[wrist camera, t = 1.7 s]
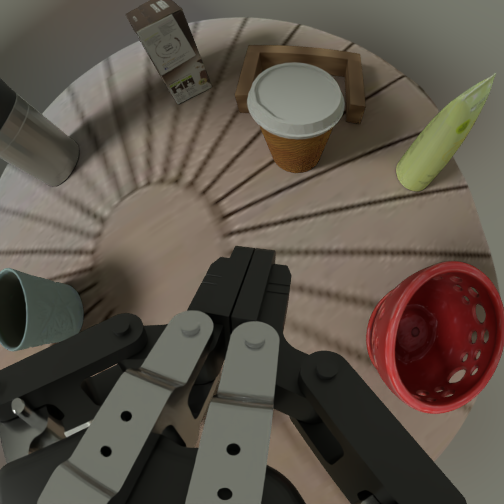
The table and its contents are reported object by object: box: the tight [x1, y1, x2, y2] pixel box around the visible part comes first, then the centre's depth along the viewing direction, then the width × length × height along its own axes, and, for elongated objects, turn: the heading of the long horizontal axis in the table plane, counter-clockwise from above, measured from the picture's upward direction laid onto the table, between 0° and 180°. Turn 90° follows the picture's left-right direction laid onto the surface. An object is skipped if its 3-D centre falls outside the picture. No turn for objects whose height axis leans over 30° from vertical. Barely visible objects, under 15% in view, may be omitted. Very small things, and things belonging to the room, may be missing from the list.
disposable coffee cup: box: [247, 62, 345, 173], centre depth 29 cm, size 10×10×12 cm
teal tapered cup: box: [0, 268, 84, 351], centre depth 30 cm, size 10×10×12 cm
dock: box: [235, 45, 366, 124], centre depth 35 cm, size 17×12×4 cm
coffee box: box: [126, 0, 212, 104], centre depth 32 cm, size 9×6×16 cm
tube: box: [396, 73, 496, 191], centre depth 23 cm, size 6×5×20 cm
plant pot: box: [366, 261, 504, 414], centre depth 23 cm, size 13×13×12 cm
